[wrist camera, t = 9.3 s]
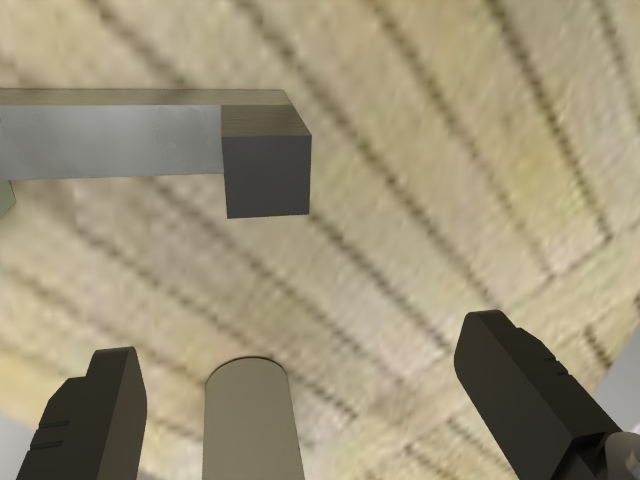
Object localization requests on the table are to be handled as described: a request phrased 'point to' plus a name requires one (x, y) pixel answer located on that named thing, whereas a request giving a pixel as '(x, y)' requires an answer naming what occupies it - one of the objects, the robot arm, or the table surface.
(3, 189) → the bearing bridge
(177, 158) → the grey l-shaped bracket
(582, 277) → the table surface
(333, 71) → the table surface
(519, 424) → the robot arm
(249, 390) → the travel mug
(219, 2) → the table surface
